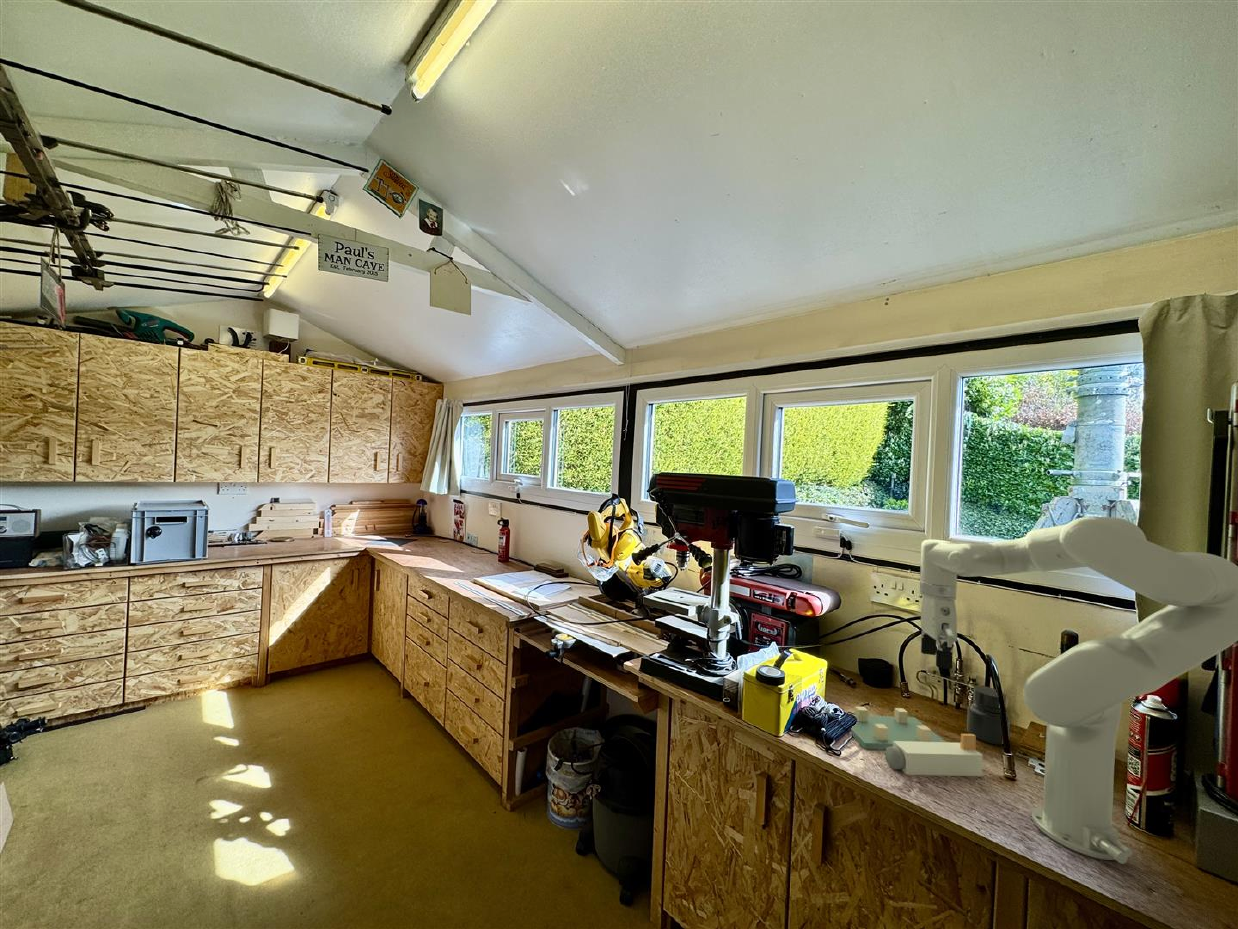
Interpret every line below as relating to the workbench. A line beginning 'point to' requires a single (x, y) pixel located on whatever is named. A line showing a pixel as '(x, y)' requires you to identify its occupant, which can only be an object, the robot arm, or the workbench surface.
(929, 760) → the block with grey endcap
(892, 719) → the jig
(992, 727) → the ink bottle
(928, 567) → the robot arm
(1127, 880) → the workbench surface
